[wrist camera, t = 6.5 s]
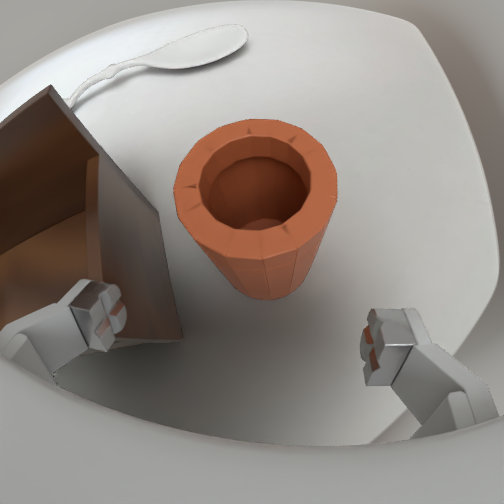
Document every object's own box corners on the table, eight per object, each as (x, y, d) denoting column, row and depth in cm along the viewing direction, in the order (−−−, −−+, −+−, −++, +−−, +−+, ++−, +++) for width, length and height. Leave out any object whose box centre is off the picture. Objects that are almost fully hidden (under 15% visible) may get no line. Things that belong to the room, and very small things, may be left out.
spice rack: (184, 340, 18) (14, 325, 5) (14, 369, 18) (-97, 357, 5) (158, 211, 21) (51, 83, 8) (6, 276, 21) (-91, 233, 8)
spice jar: (322, 284, 18) (364, 228, 9) (236, 311, 19) (190, 281, 9) (294, 206, 20) (301, 106, 11) (214, 230, 20) (165, 144, 11)
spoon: (36, 119, 29) (24, 106, 26) (239, 31, 29) (235, 11, 26) (24, 163, 26) (9, 149, 23) (259, 61, 26) (257, 36, 23)
